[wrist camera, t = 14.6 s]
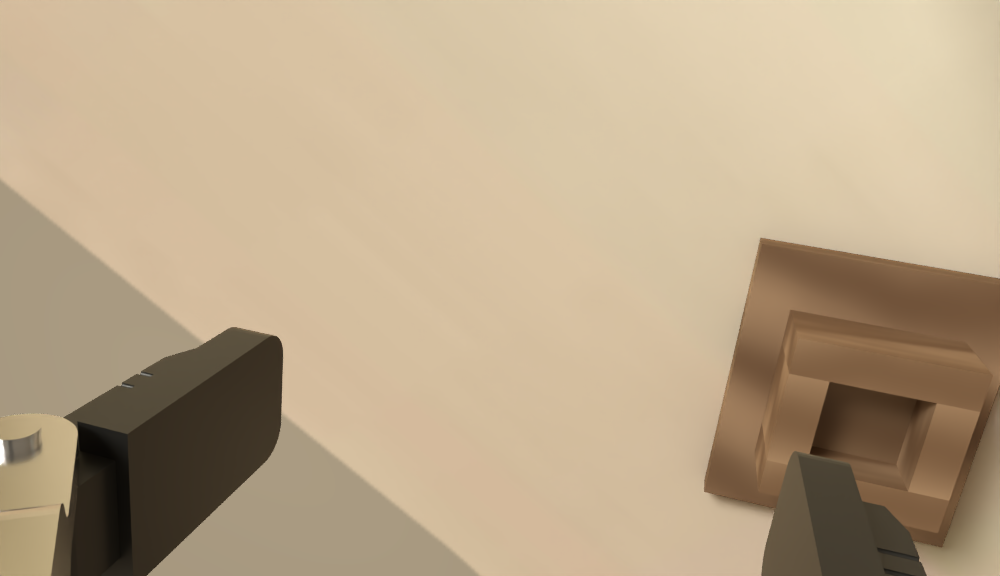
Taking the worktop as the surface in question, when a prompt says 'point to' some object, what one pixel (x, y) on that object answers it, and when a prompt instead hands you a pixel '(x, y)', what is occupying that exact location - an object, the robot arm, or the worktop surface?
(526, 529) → the worktop surface
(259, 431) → the robot arm
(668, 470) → the worktop surface
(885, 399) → the stand
